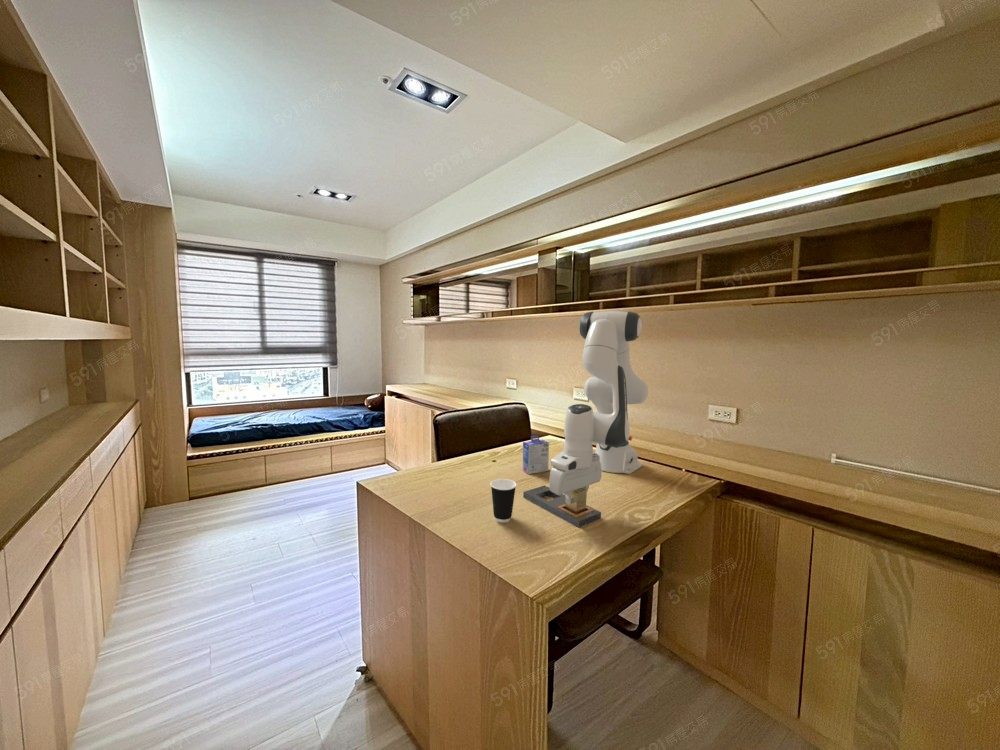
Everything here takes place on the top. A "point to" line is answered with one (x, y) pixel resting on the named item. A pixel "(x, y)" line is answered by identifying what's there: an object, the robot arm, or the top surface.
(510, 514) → the dixie cup
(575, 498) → the tan wooden block
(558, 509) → the grey peg board
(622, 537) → the top surface
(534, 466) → the ink cartridge box
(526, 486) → the top surface
